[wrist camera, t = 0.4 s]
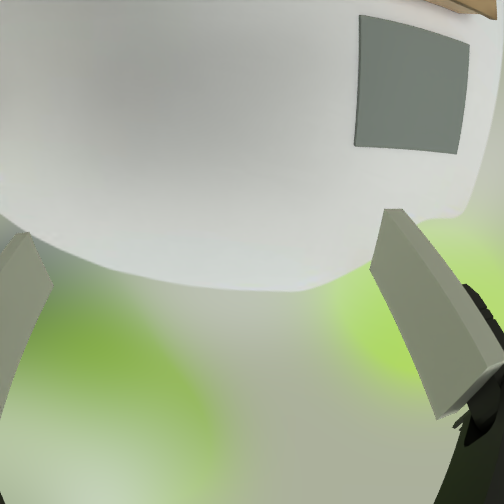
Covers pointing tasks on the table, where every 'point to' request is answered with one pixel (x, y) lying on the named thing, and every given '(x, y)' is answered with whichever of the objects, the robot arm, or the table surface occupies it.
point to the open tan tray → (452, 6)
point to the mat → (409, 87)
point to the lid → (480, 7)
